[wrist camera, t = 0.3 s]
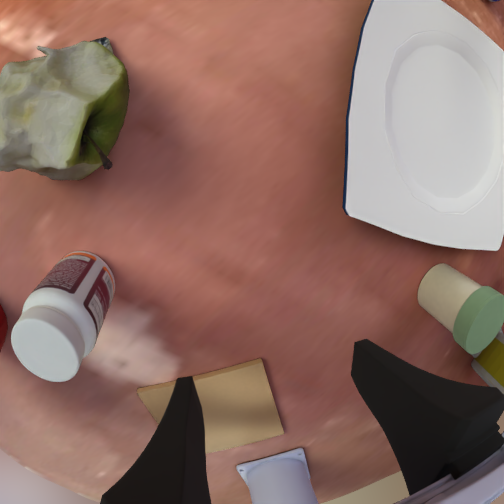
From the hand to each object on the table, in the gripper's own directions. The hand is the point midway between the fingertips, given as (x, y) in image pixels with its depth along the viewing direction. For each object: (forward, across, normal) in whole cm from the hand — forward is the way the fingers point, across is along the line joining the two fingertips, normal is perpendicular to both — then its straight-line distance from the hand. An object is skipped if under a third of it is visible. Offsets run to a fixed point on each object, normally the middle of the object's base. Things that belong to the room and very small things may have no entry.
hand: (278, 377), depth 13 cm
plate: (+10, -18, -11) cm, 23 cm away
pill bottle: (+10, +11, -2) cm, 15 cm away
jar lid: (+3, -18, +4) cm, 19 cm away
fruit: (+10, +10, -13) cm, 19 cm away
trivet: (+10, +4, +14) cm, 17 cm away
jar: (+10, -18, +4) cm, 21 cm away
